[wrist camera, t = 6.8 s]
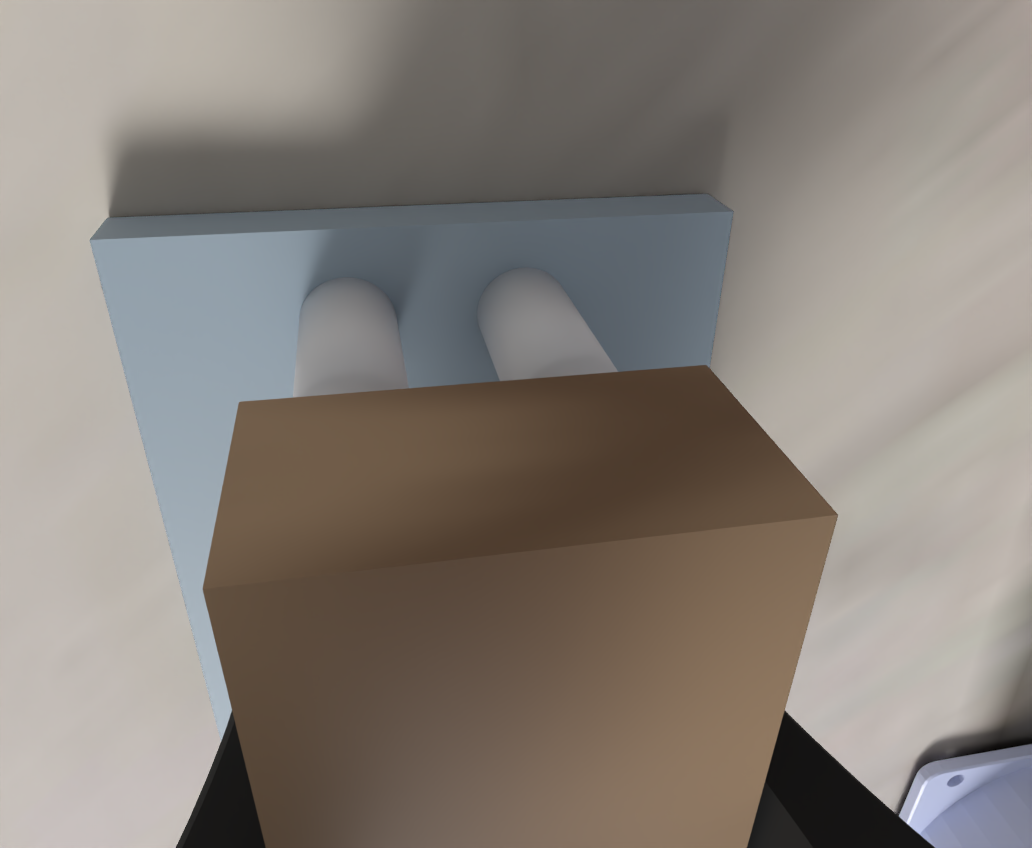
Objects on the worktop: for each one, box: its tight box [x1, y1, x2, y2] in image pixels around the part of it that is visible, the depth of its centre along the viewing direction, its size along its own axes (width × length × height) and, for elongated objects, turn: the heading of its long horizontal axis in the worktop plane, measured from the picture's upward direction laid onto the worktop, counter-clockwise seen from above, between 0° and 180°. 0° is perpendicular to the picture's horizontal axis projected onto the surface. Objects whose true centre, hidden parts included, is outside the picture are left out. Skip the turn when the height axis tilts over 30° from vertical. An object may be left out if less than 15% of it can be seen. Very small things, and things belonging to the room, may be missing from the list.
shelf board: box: [203, 365, 838, 848], centre depth 9 cm, size 4×10×2 cm, turn 179°
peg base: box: [90, 194, 734, 741], centre depth 13 cm, size 9×10×4 cm
